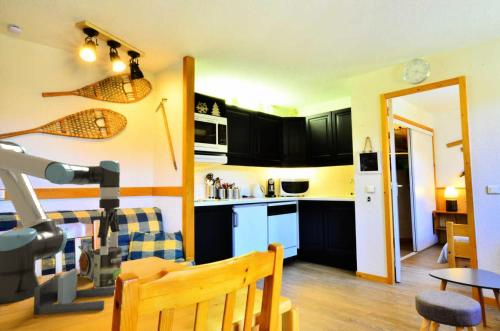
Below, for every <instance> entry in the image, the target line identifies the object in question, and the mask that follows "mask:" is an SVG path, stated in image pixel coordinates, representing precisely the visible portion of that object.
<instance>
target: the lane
mask: <svg viewBox="0 0 500 331" xmlns="http://www.w3.org/2000/svg"><path fill="white" fill-rule="evenodd" d="M59 277H61V274H57V275H54V276H53V277H51V278H49V279H47V280H46V281H45V282H43V283H41V284H40V285H39V286H38V287H36V288H35V290H34V296H33V316H43V315H53V314H55V315H56V314H67V313H81V312H91V311H104V309H105V300H95V301H94V300H93V301H81V302H71V303H65V304H58V303H56V302H58V278H59ZM114 290H115V291H116V287H112V288H97V289H95V288H85V289H84V288H83V289H77V295H76V298H75V299H78V298H79V299H80V298H81V299H82V298H97V297H108V296H109V297H110V296H115V295H114ZM55 303H56V304H55Z"/></svg>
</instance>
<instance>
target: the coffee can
mask: <svg viewBox="0 0 500 331" xmlns="http://www.w3.org/2000/svg"><path fill="white" fill-rule="evenodd" d="M93 251H94V281H93V286H92V288H93V289H97V288H112V287H115V280H116V277H117V276H118V275H119V274H121V275H122V263H123V262H122V258H123V257H122V256H123V254H122V253H123V252H122V251H123V248H122V247H120V246H117V247H110V246H108V255H100V248H97V249H94V250H93ZM115 288H116V287H115Z"/></svg>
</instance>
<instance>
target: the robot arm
mask: <svg viewBox="0 0 500 331" xmlns="http://www.w3.org/2000/svg"><path fill="white" fill-rule="evenodd" d="M120 174H121V168H120V162H119V161H118V160H101V161H99V165H96V166H95V165H93V166H92V165H89V166H88V165H87V166H86V165H77V164H69V163H65V162H61V161H56V160H53V159H48V158H44V157H40V156H36V155H33V154H28V151H27V150H26V148H25V147H24V146H23V145H21V144H18V143H15V142H13V141H6V140H5V141H3V140H0V180H1V182H2V185H3V186H4V188H5V190H6V193H7V195H8V198H9V200H10V201H11V204H12V205H13V208H14V210H15V212H16V215H17V216H18V219H19V221H20V223H21V225H22V227H23V228H19V229H13V230H8V231H5V232H3V233H1V234H0V304H6V303H8V304H9V303H14V302H17V301H18V302H20V301H22V300H27V299H29V298H32V297H34V290H35V288H36V287H38V286H39V285H41V284H40V281H39V279H38V275H37V273H36V261H39V260H43V259H45V258H50V257H53V256H54V255H57V254H59V253H61V252H62V251H63V250H64V248H65V247H66V244H67V242H68V234H67V232H66V230H65V229H64V228H62V227H60V226H57V225H56V223H55V221H54V220H53V219H52V218H48V216H47V214H46V213H45V211H44V209H43V206H42V204H41V203H40V202H41V201H40V200H39V198H38V195H37V194H36V192H35V189H34V187H33V185H32V183H31V181H30V179H29V177H28V176H30V177H35V178H37V179H42V180H47V181H48V182H49V183H51V184H55V185H74V186H75V185H77V186H84V185H99V191H98V192H99V193H98V194H99V195H98V196H99V197H98V198H100V199H99V200H98V202H99V203H98V204H99V205H98V207H99V208H100V209H104V210H103V211H100V221H99V227H98V232H97V237H96V238H97V239H99V249H100V255H108V247H118V235H119V232H120V226H119V218H118V209H117V208H120V205H121V204H120V197H121V196H120V193H121V192H122V190H121V189H120V176H121V175H120ZM109 229H110V233H109ZM108 234H110V237H109V235H108ZM109 240H110V241H109ZM109 242H110V243H109Z"/></svg>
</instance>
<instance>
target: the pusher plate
mask: <svg viewBox="0 0 500 331" xmlns="http://www.w3.org/2000/svg"><path fill="white" fill-rule="evenodd" d="M77 274H78V268H71V269H70V270H69V271H67V272H65V273H64V274H62V275H60V277H59V278H58V300H57V304H65V303H73V302H74V300H76V299H77V298H76V295H77V290H78V288H77V287H78V276H77Z"/></svg>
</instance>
